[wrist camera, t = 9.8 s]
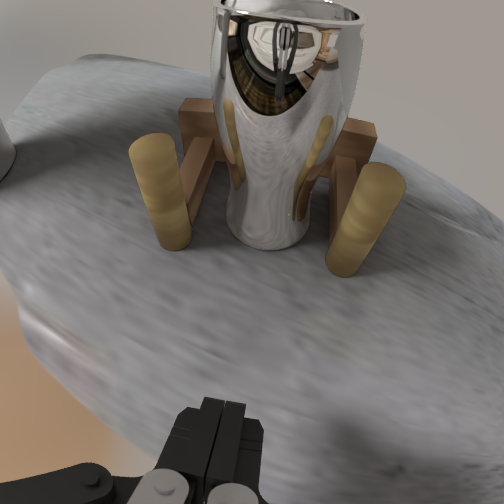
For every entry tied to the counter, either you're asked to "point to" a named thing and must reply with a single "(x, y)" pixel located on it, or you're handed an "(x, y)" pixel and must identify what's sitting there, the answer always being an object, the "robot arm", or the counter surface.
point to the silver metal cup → (280, 106)
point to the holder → (210, 150)
